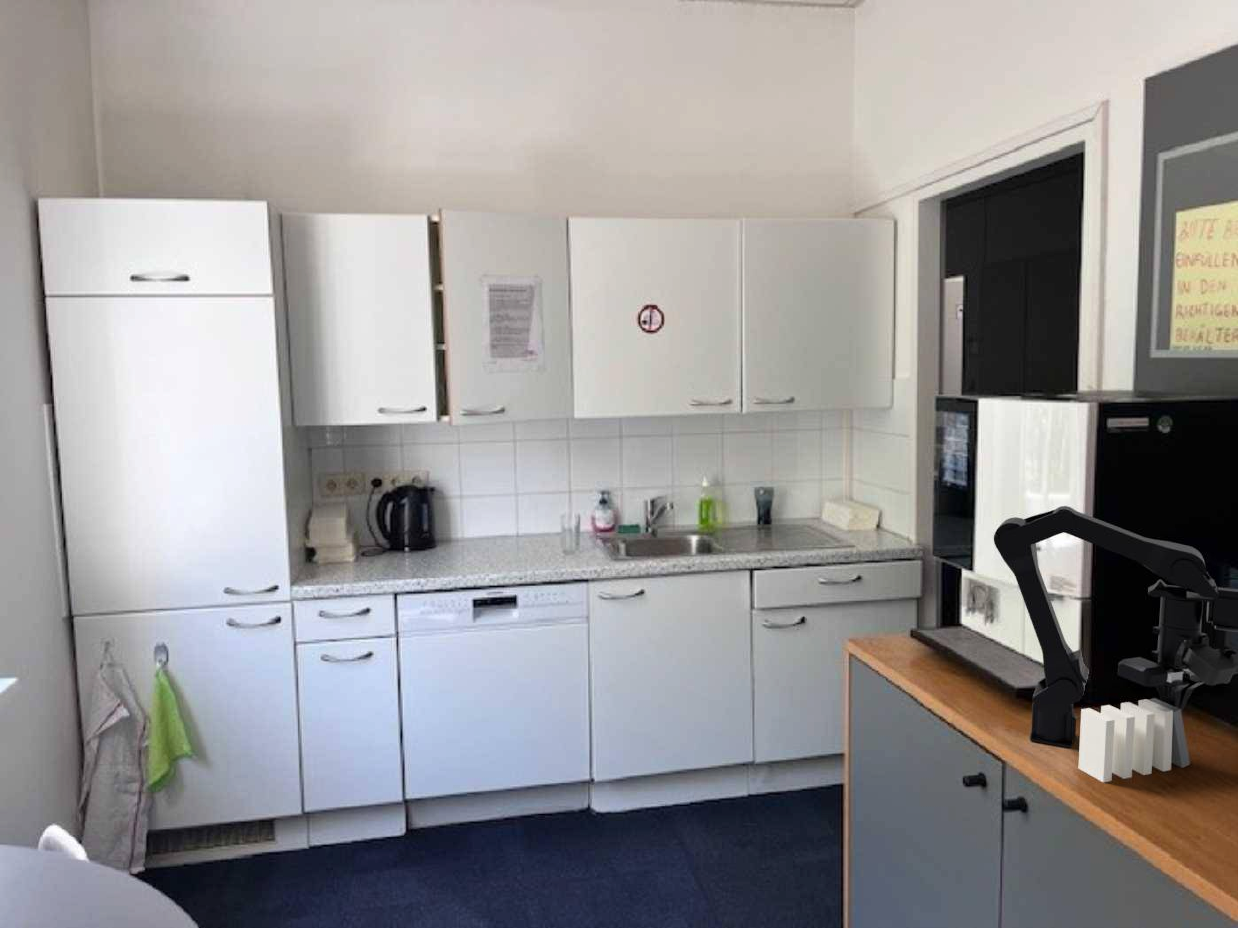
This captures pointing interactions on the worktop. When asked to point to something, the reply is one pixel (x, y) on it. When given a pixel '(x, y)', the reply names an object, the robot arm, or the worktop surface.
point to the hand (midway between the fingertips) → (1173, 717)
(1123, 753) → the domino
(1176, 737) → the domino
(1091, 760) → the domino
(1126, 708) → the domino
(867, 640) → the worktop surface
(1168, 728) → the domino
